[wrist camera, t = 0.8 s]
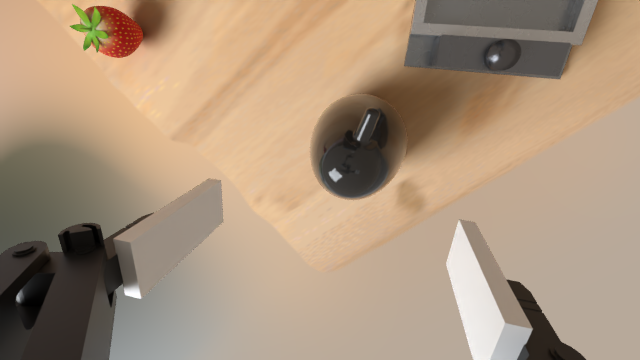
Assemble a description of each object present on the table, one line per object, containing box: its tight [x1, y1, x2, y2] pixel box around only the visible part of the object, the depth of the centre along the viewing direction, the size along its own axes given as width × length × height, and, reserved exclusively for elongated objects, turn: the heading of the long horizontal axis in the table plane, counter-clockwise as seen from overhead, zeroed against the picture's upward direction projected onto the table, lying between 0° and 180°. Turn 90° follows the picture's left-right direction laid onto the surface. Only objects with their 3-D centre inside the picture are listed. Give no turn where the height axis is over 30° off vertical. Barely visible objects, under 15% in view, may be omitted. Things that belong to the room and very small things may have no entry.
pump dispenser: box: [310, 94, 408, 200], centre depth 30 cm, size 10×10×15 cm
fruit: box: [70, 4, 143, 58], centre depth 35 cm, size 5×5×8 cm
